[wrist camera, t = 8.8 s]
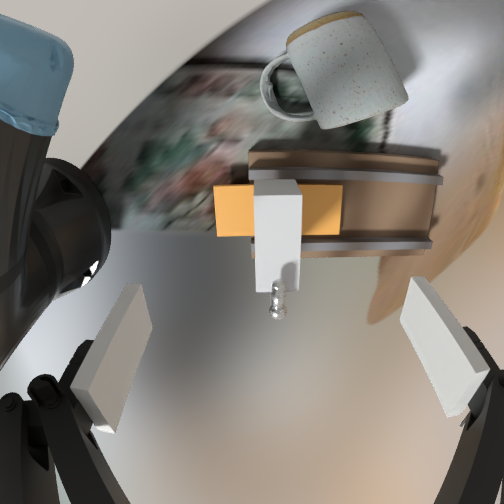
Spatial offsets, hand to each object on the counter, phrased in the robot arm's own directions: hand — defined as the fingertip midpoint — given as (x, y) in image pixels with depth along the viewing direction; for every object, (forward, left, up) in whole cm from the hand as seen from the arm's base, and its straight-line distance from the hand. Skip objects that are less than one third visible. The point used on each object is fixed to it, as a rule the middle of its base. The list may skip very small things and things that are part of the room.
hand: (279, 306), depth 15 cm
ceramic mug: (+5, +11, -16) cm, 21 cm away
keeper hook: (0, -4, -15) cm, 15 cm away
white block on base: (+1, 0, -14) cm, 14 cm away
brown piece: (+7, 0, -16) cm, 18 cm away
